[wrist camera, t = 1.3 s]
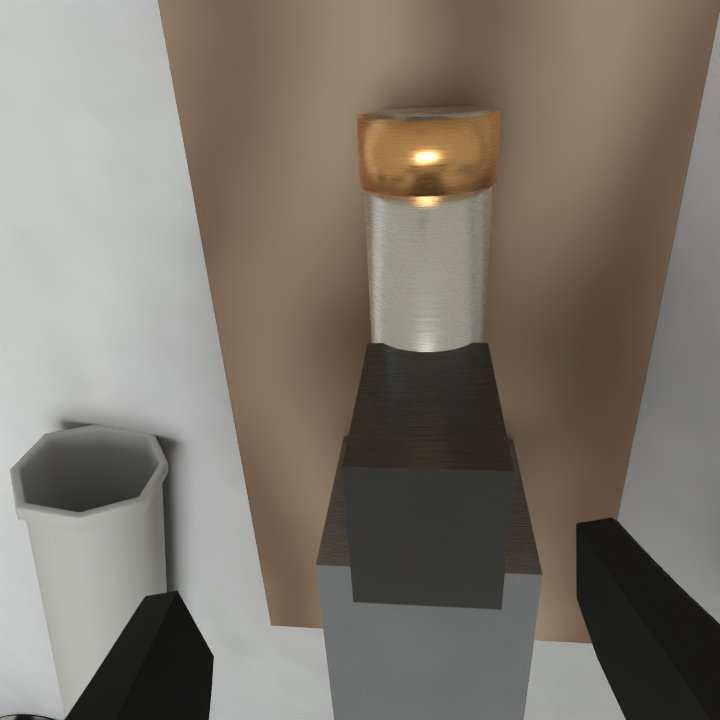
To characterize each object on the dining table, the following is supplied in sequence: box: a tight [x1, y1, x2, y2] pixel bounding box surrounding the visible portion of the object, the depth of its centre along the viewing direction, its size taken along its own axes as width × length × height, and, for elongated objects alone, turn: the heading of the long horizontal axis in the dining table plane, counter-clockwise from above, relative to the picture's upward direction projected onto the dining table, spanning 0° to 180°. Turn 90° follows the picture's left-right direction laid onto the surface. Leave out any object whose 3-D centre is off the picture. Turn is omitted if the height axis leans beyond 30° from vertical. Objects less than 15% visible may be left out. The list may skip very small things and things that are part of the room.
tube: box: [10, 424, 168, 717], centre depth 28 cm, size 5×5×25 cm
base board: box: [158, 0, 720, 643], centre depth 19 cm, size 14×32×1 cm, turn 3°
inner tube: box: [342, 106, 514, 610], centre depth 16 cm, size 3×19×8 cm, turn 3°
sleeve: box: [316, 437, 542, 720], centre depth 20 cm, size 6×9×6 cm, turn 3°
